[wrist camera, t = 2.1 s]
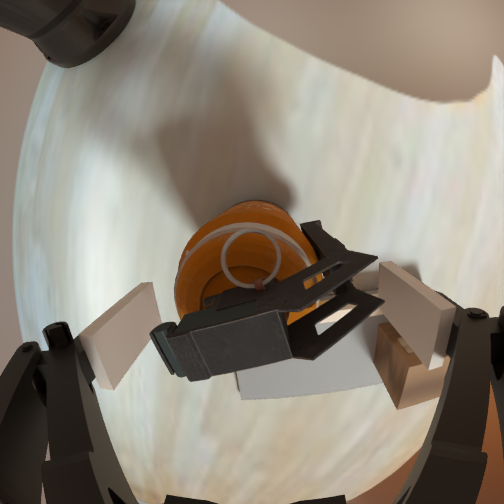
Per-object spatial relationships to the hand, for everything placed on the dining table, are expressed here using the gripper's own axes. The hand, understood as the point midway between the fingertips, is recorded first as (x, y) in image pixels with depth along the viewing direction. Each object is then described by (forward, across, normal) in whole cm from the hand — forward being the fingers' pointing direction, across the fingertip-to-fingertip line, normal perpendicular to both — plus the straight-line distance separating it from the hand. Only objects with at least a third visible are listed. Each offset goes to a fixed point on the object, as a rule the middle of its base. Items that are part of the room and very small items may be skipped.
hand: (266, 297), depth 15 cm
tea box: (+14, +15, -14) cm, 25 cm away
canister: (+15, 0, +1) cm, 15 cm away
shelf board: (+15, +7, -14) cm, 21 cm away
